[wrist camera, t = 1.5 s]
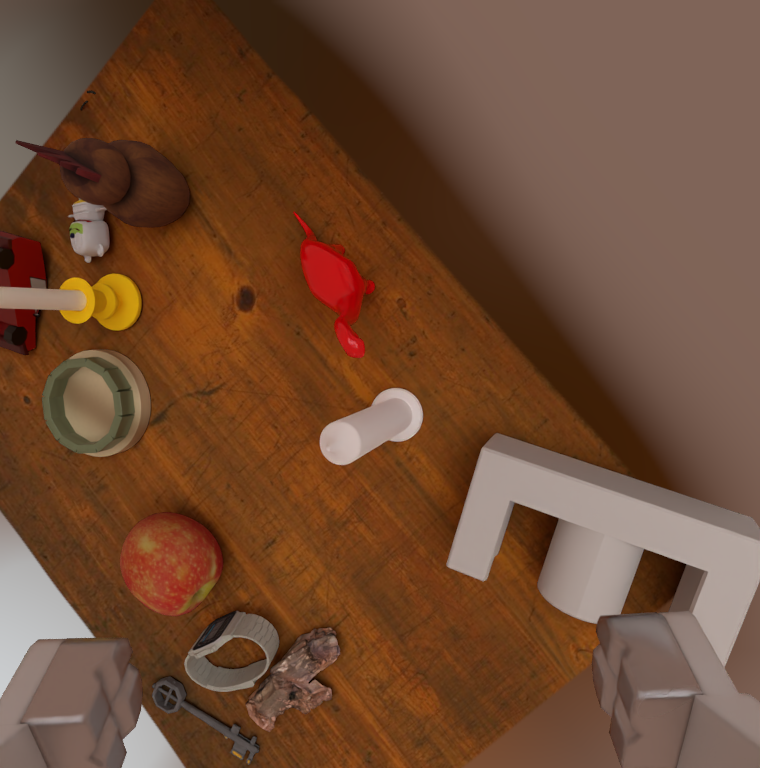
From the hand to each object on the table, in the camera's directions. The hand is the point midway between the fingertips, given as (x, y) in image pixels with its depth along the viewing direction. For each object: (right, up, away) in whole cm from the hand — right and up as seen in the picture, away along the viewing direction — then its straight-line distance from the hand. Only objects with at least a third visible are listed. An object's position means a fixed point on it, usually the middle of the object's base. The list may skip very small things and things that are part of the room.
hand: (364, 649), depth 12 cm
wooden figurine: (-18, +21, +47) cm, 55 cm away
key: (-17, -28, +51) cm, 61 cm away
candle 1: (-24, +12, +50) cm, 57 cm away
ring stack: (-26, +3, +51) cm, 57 cm away
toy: (-26, +31, +47) cm, 62 cm away
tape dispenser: (+17, -6, +39) cm, 43 cm away
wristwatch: (-12, -19, +49) cm, 54 cm away
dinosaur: (-2, +13, +43) cm, 45 cm away
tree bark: (-6, -23, +45) cm, 51 cm away
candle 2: (+2, +2, +43) cm, 43 cm away
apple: (-17, -10, +50) cm, 54 cm away
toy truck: (-36, +12, +48) cm, 61 cm away
